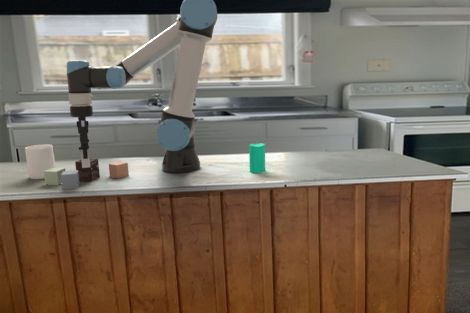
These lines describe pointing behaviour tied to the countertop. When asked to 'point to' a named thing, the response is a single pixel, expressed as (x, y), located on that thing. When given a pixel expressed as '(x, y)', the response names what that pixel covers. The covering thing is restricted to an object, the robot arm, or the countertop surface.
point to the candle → (257, 158)
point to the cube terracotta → (118, 169)
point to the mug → (39, 160)
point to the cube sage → (53, 176)
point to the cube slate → (70, 179)
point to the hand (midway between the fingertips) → (85, 163)
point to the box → (88, 170)
